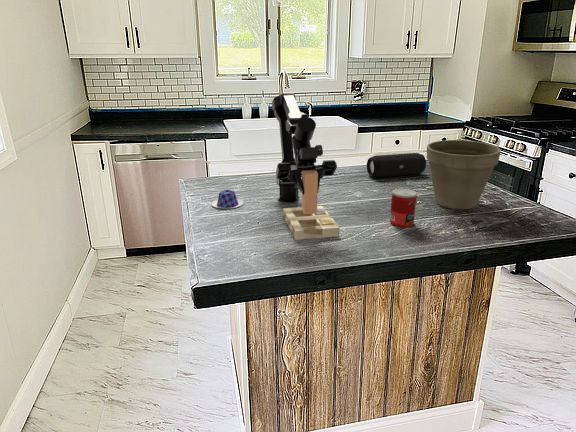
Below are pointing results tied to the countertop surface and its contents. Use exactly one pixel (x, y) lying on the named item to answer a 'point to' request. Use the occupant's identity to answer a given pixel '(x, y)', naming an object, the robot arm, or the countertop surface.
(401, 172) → the portable speaker
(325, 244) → the countertop surface
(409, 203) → the canned food
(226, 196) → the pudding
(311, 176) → the plug
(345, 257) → the countertop surface
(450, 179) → the plant pot
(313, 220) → the socket plate
